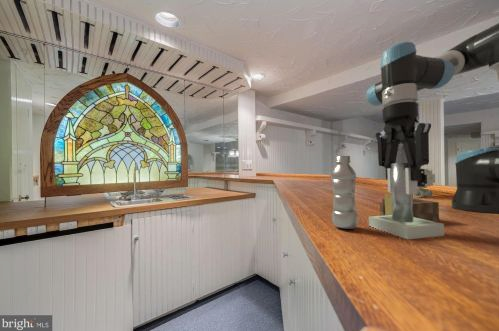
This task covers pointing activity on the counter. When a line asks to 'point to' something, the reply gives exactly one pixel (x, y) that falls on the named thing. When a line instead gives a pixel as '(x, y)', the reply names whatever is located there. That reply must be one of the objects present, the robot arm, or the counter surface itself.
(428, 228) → the tray
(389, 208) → the brass block
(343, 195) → the plastic bottle
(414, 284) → the counter surface
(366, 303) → the counter surface
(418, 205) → the socket block
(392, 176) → the grey metal peg
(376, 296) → the counter surface
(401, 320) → the counter surface
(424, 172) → the ball valve
